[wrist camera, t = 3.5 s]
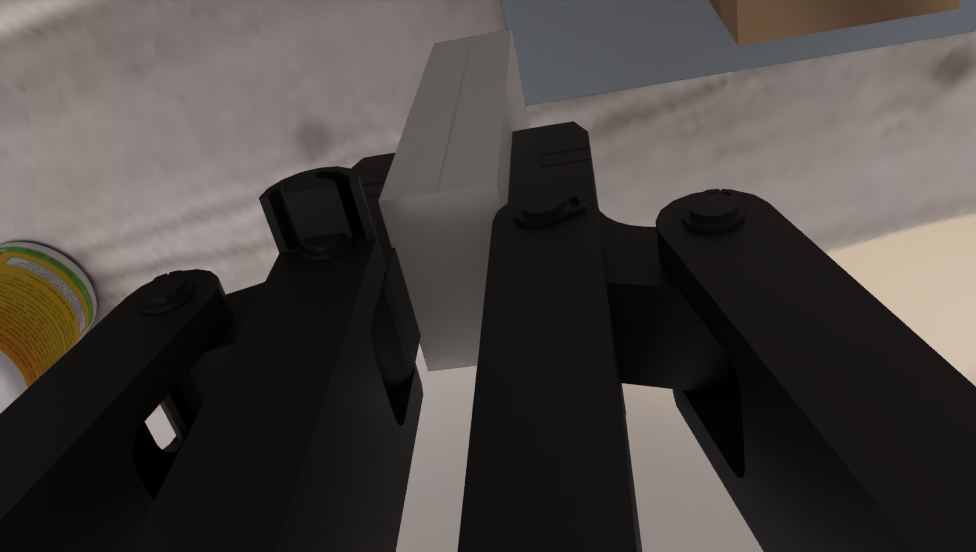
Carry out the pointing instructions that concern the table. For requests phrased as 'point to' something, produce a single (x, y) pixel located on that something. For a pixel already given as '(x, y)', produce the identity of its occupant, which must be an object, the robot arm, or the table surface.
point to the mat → (672, 43)
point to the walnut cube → (813, 15)
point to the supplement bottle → (38, 313)
